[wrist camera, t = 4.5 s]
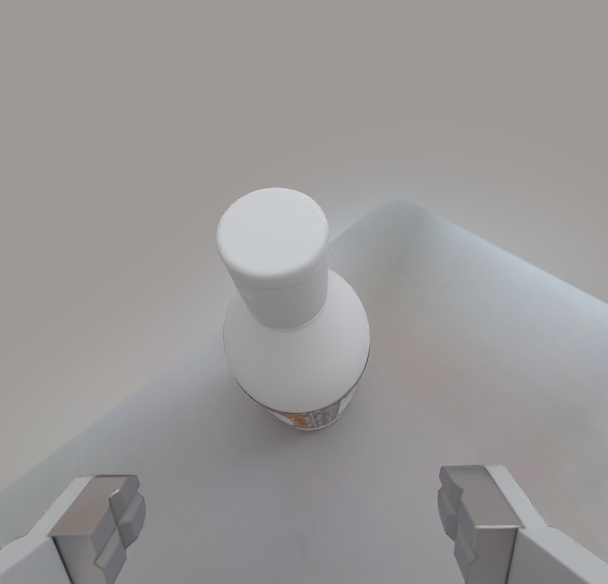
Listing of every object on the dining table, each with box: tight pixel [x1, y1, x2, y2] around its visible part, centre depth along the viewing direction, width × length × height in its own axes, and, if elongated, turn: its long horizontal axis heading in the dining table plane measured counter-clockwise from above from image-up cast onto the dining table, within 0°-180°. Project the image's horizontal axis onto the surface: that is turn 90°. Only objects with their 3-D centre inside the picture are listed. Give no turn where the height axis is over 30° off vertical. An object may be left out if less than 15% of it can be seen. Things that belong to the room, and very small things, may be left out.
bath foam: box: [216, 188, 370, 430], centre depth 17 cm, size 7×7×20 cm
